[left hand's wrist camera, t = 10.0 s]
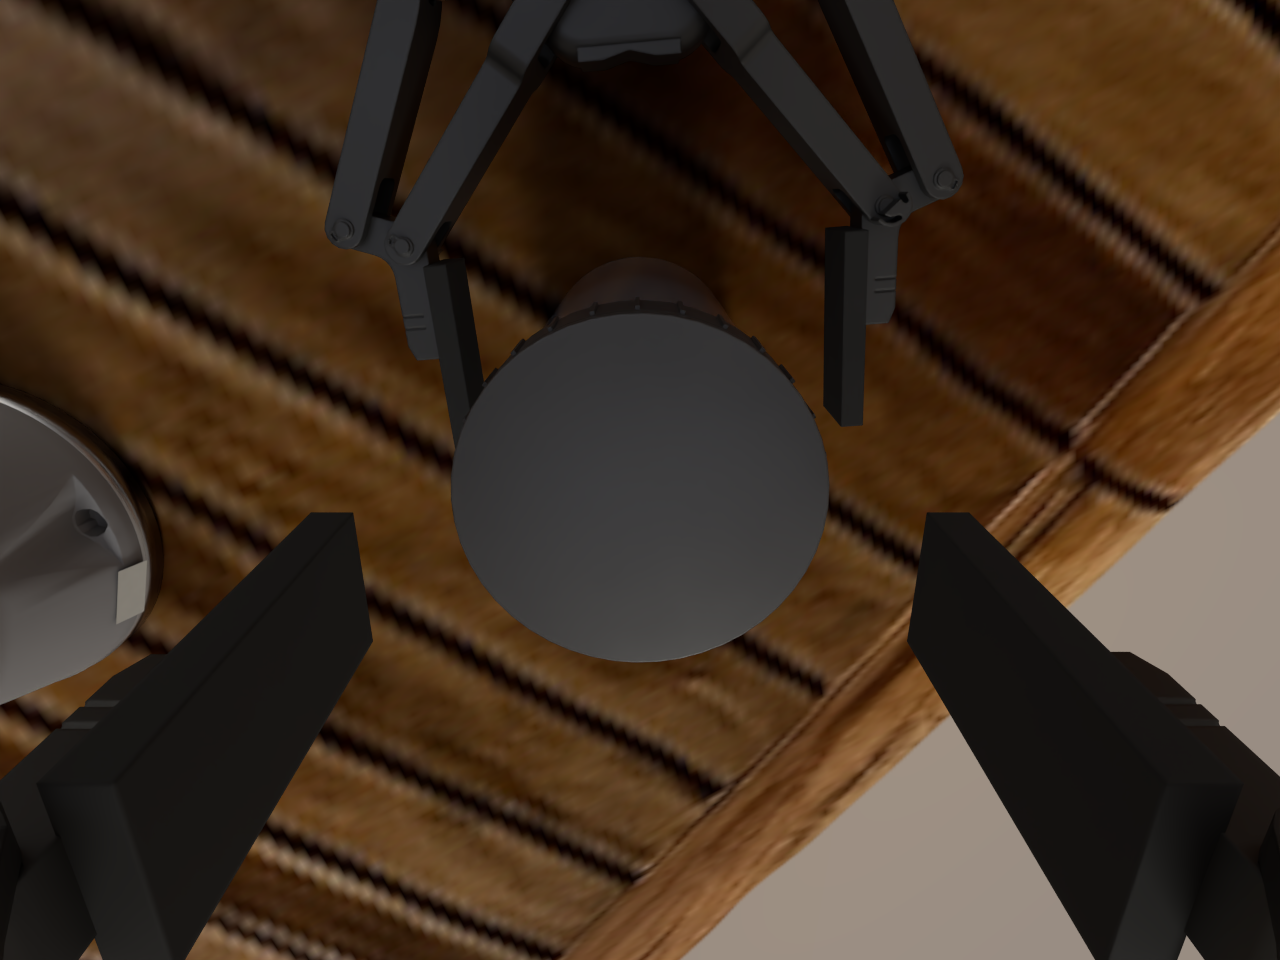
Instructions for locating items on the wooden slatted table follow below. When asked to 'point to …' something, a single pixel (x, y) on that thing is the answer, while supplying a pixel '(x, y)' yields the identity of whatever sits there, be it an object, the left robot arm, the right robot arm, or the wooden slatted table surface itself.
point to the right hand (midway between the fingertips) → (657, 430)
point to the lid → (640, 482)
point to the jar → (639, 287)
